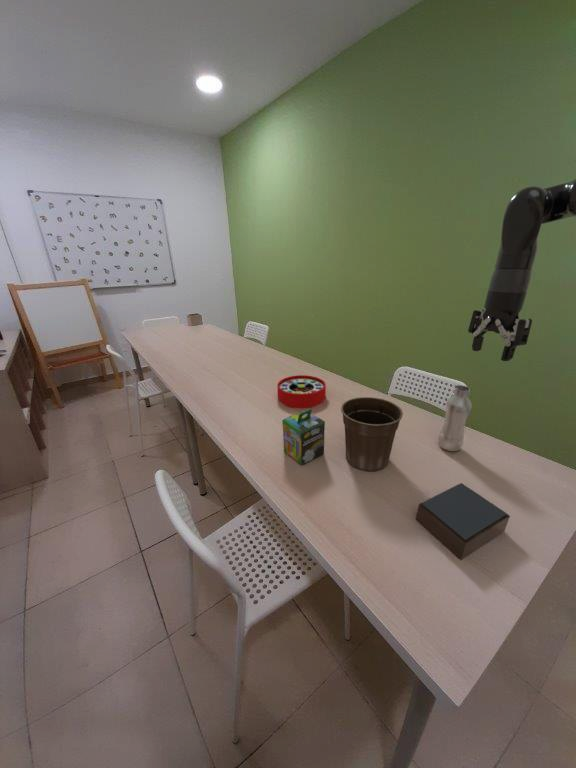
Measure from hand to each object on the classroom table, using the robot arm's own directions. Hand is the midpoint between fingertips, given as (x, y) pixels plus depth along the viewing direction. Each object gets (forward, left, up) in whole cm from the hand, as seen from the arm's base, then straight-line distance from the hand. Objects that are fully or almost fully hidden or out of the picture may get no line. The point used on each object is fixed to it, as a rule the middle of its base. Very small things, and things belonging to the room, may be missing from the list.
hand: (490, 355), depth 76 cm
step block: (+25, +16, -30) cm, 42 cm away
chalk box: (+42, -23, -31) cm, 57 cm away
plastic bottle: (+2, -4, -31) cm, 31 cm away
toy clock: (+24, -57, -31) cm, 69 cm away
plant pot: (+27, -12, -31) cm, 42 cm away
